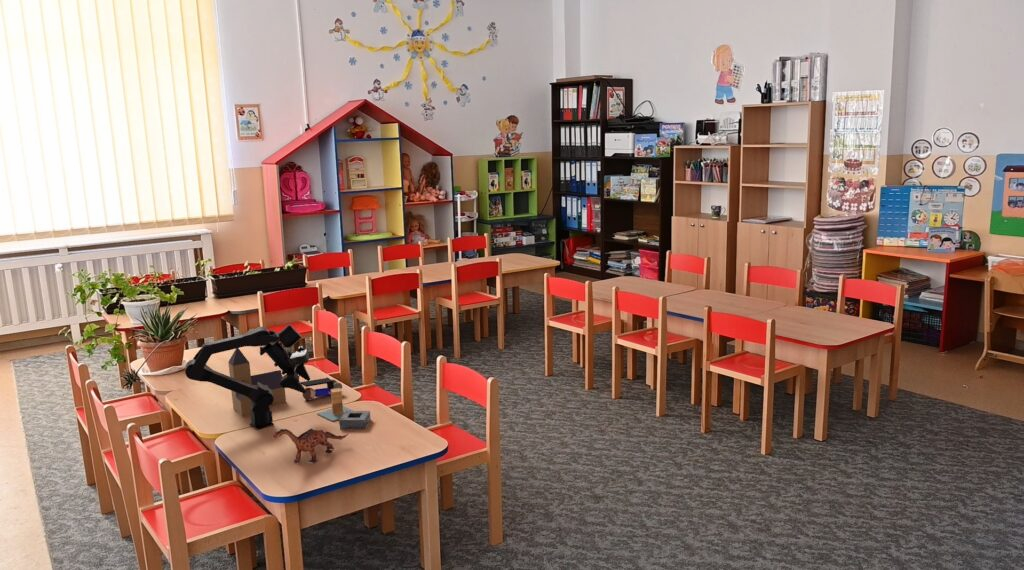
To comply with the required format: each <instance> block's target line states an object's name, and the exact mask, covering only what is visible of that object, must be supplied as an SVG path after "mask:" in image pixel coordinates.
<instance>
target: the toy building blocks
mask: <svg viewBox="0 0 1024 570" xmlns="http://www.w3.org/2000/svg"><path fill="white" fill-rule="evenodd" d="M228 370H229V371H228V373H229V377H232V378H234V379H237V380H239V381H242V382H245V383H247V384H250V385H257V382H259V383H261V384H263V385H268V388H270V389H271V391H272V394H273V397H274V400H273V403H272V404H271V405H270V406H274V405H279V404H283V403H287V398H286V388H282V386H281V385H280V381H281V378H282V377H283V374H282V370H281V369H279V370H274V371H269V372H264V373H259V374H258V373H257V374H254V375H251V365H250V361H249V360H248V359H247V358H246V356H245V355H244V354H243V352H242V351H241V350H240V348H236V349H234V352H233V353H232V355H231V356H230V358H229V360H228ZM231 397H232V408H233V410H234V411H235V412H237V413H238V415H239V416H240V417H241V418H247V417H251V412H250V410H252V406H251V401H252V400H251V399H249V398H248V397H247V396H244V395H242V394H239V393H237V392H234V391H231Z"/></svg>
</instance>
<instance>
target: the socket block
mask: <svg viewBox="0 0 1024 570" xmlns="http://www.w3.org/2000/svg"><path fill="white" fill-rule="evenodd" d="M371 418H372V417H371V410H353V411H345V413H344V414H343V416H342V417H341V418H340V420H338V422H339V430H366V429H367V426H368V425H369V423H370V422H371ZM369 421H370V422H369Z"/></svg>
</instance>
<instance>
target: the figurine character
mask: <svg viewBox="0 0 1024 570" xmlns="http://www.w3.org/2000/svg"><path fill="white" fill-rule="evenodd" d="M300 383H301V384H302V385H303V387H305V390H306V393H302V397H303V399H305V400H306V401H312V400H313V399H315V398H317V397H326V396H330V397H331V389H336V388H341V390H342V389H343V384H342V383H341V382H339V381H337V380H336V379H334V378H333V379H331V378H329V377H324V378H319V379H312V380H311V379H310V380H309V381H307V380H305V381H300ZM325 384H326V387H324V388H323V387H322V388H312V387H313V386H318V385H319V386H321V385H325Z"/></svg>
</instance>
